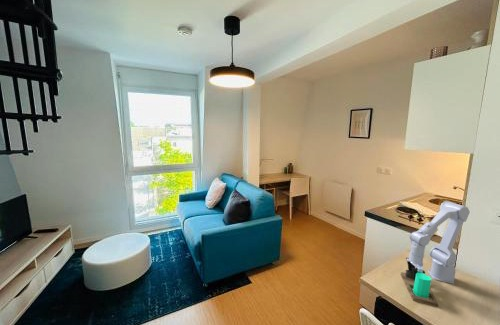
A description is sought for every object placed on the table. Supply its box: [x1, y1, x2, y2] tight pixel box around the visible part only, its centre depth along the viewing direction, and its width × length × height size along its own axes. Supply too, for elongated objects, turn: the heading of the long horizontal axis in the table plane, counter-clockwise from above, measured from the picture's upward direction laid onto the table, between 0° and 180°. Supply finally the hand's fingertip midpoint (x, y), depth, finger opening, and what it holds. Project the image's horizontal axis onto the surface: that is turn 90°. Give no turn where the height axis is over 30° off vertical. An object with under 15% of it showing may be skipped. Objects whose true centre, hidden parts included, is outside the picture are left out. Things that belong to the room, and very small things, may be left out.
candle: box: [412, 272, 432, 299], centre depth 106 cm, size 6×6×12 cm
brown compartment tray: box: [400, 269, 439, 308], centre depth 110 cm, size 20×10×5 cm, turn 159°
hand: (413, 275), depth 117 cm, fingers open, 7 cm apart
